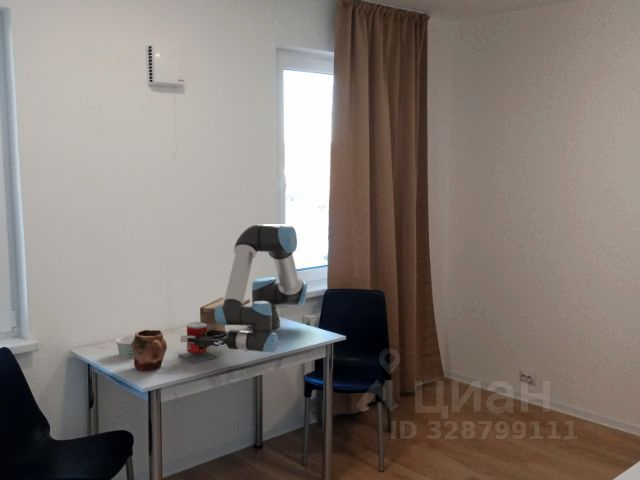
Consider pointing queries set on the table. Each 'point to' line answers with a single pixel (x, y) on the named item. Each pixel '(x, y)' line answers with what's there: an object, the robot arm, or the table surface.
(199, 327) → the canned food
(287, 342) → the table surface
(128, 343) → the food container
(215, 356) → the rubber mat
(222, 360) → the table surface
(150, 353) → the terracotta animal pitcher
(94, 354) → the table surface
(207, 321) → the walnut shelf
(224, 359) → the table surface
